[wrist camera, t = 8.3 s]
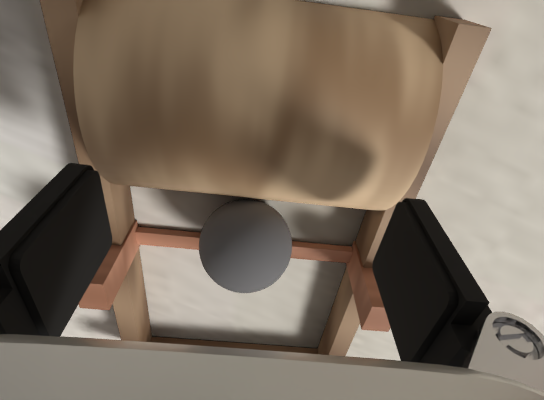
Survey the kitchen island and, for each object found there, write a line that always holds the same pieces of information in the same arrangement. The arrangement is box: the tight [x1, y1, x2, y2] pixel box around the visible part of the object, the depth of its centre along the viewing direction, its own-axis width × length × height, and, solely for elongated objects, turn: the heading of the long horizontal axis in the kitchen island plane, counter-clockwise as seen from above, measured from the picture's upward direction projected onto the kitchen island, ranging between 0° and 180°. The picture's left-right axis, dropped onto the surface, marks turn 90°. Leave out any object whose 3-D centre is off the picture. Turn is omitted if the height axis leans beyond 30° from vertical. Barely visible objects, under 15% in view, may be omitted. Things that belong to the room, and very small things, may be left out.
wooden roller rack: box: [40, 0, 492, 356], centre depth 17 cm, size 21×13×9 cm, turn 173°
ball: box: [199, 199, 292, 293], centre depth 15 cm, size 4×4×4 cm
